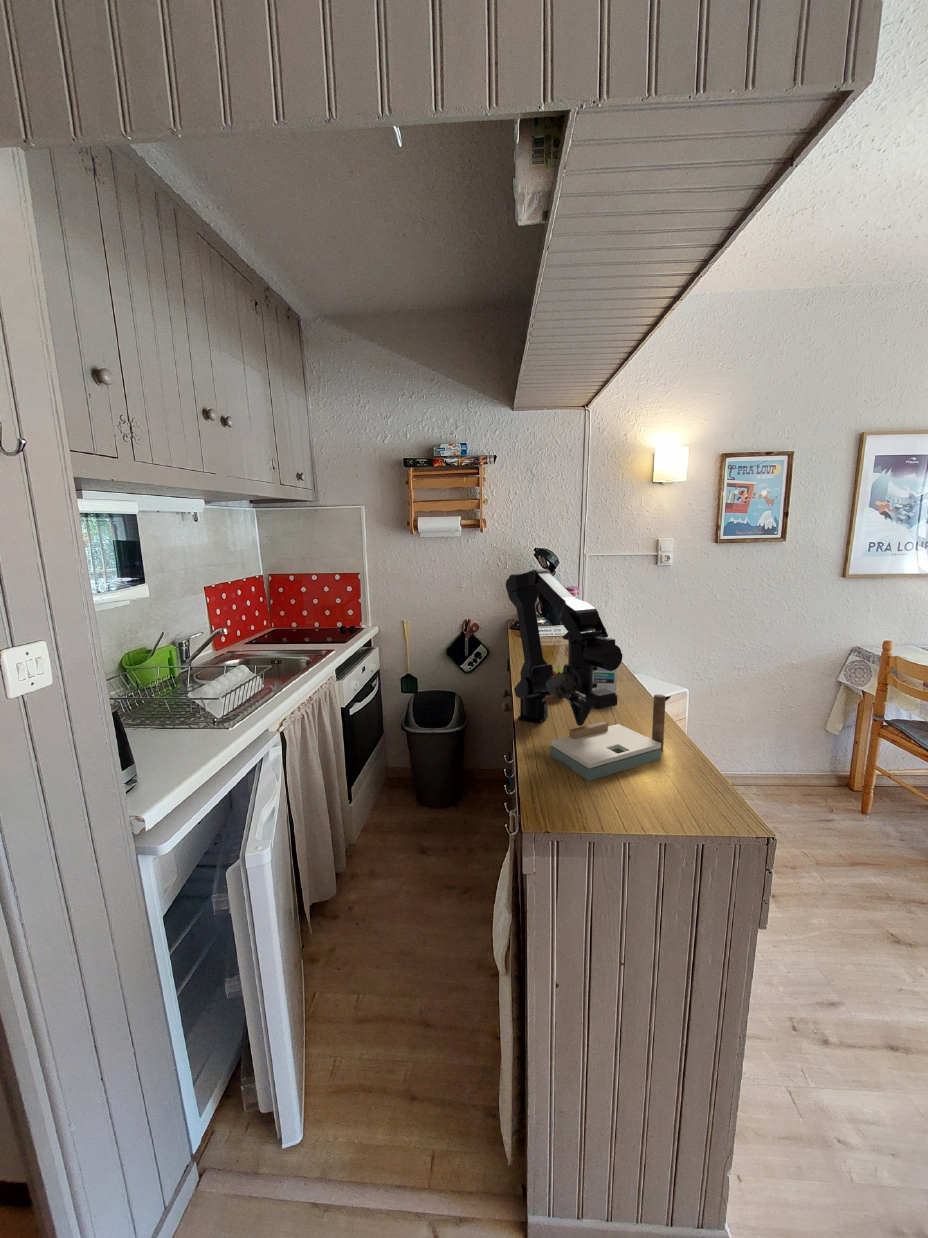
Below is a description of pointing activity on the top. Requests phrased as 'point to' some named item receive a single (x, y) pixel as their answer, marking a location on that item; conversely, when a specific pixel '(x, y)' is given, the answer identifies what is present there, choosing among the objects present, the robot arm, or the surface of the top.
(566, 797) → the top surface
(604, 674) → the light bulb box
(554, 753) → the teal box base
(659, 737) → the brown wooden peg
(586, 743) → the lid
